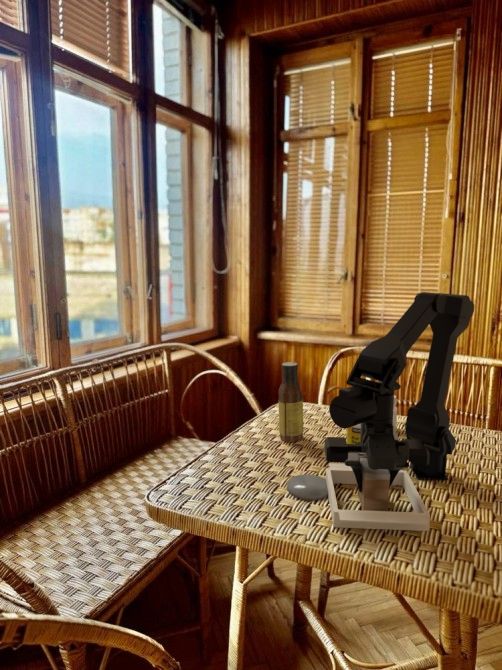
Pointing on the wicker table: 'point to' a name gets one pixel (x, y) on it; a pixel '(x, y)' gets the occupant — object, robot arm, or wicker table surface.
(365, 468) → the gray box
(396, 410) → the pepper shaker
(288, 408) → the sauce bottle
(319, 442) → the wicker table surface
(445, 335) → the robot arm
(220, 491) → the wicker table surface
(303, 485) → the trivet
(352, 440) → the supplement bottle
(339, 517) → the beige square frame
